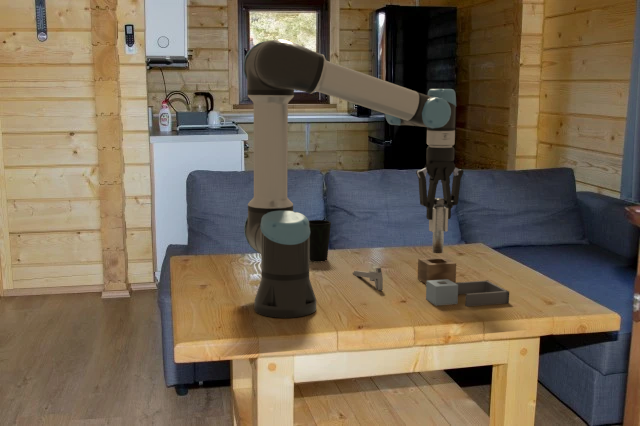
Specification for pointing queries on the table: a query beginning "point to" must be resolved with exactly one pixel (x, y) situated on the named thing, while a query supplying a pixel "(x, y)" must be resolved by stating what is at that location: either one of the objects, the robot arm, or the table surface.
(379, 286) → the caliper
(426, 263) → the bore block
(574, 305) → the table surface
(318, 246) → the cup
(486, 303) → the corral
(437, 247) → the cylinder
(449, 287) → the block
